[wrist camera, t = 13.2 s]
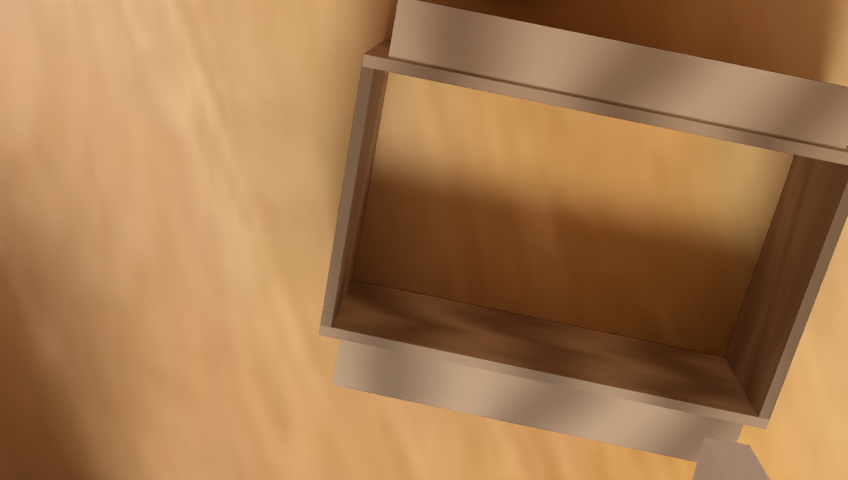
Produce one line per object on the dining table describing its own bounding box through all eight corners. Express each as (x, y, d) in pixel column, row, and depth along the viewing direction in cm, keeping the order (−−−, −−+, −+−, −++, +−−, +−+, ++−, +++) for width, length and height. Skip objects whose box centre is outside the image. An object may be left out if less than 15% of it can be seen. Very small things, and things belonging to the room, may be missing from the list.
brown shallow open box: (335, 328, 44) (311, 381, 39) (392, -13, 38) (373, -9, 33) (716, 408, 44) (748, 474, 38) (834, 76, 38) (893, 96, 32)
